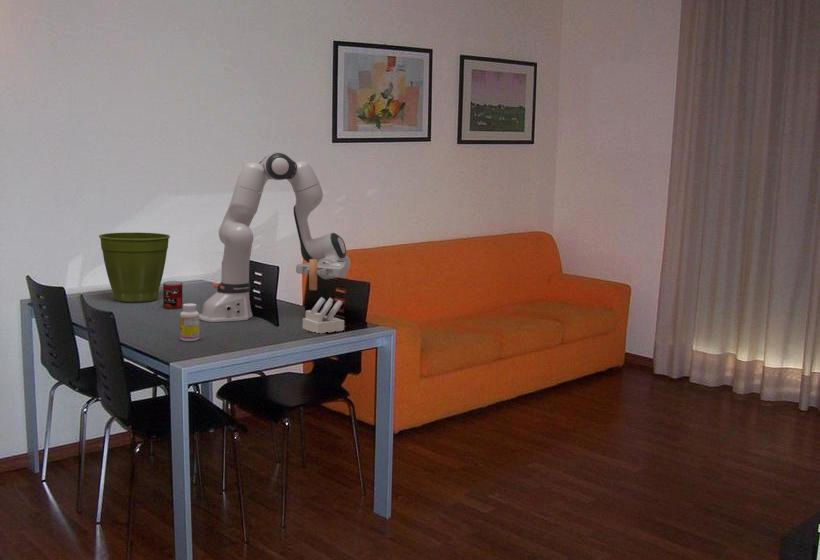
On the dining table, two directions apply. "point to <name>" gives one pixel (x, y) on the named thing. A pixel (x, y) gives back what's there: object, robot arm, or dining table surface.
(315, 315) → the white tube holder
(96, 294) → the dining table surface
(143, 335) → the dining table surface
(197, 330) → the supplement bottle
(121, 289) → the plant pot
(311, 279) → the peg
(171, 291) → the canned food
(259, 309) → the dining table surface
